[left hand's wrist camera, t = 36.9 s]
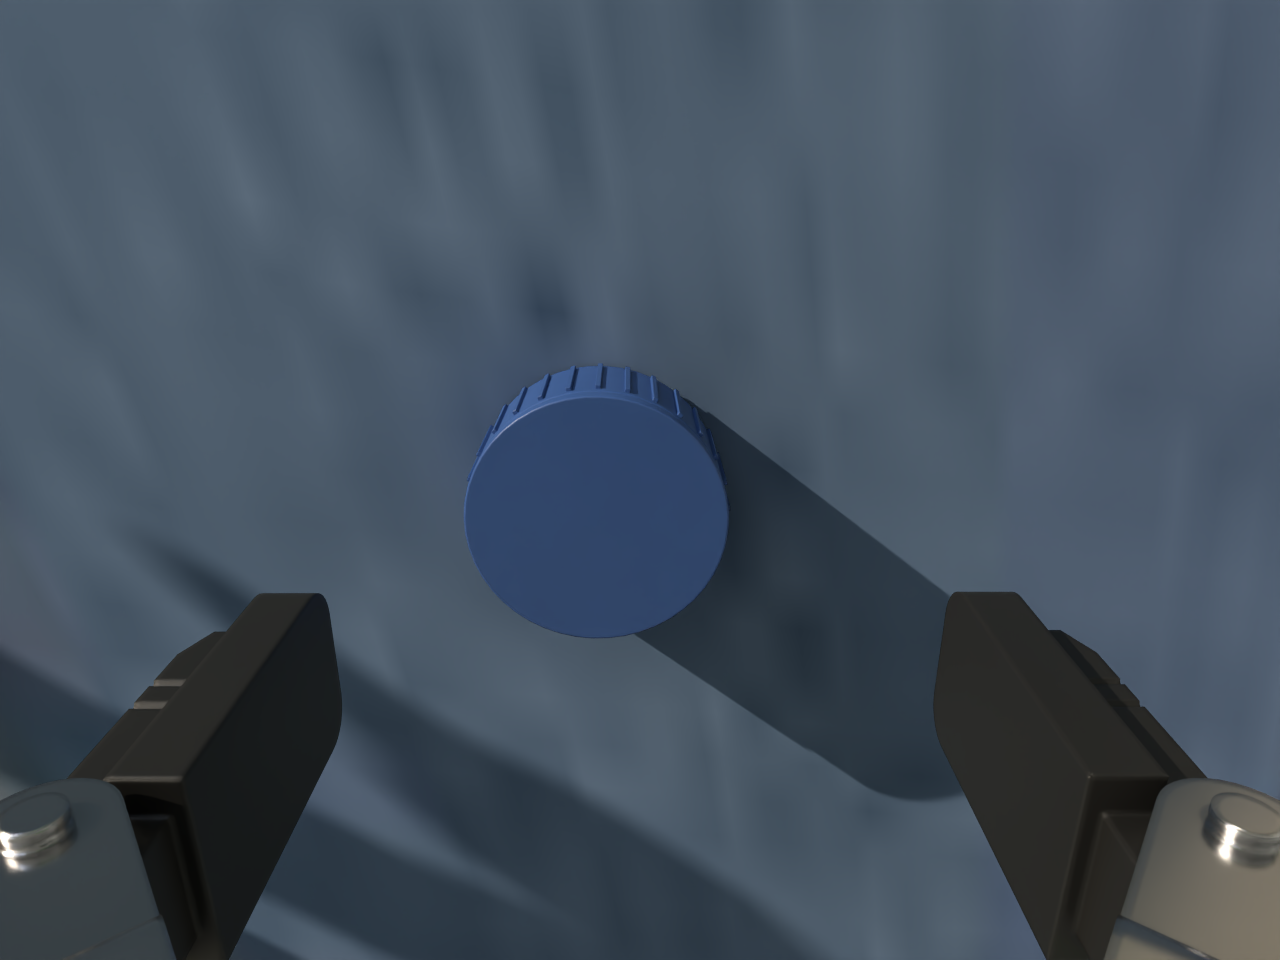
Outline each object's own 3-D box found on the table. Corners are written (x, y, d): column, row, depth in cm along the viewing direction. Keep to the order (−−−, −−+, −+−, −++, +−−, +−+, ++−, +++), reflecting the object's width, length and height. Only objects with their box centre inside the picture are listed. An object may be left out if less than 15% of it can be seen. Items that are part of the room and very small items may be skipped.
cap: (654, 317, 15) (658, 343, 14) (760, 528, 17) (776, 576, 15) (433, 429, 16) (407, 468, 14) (553, 622, 18) (544, 680, 16)
